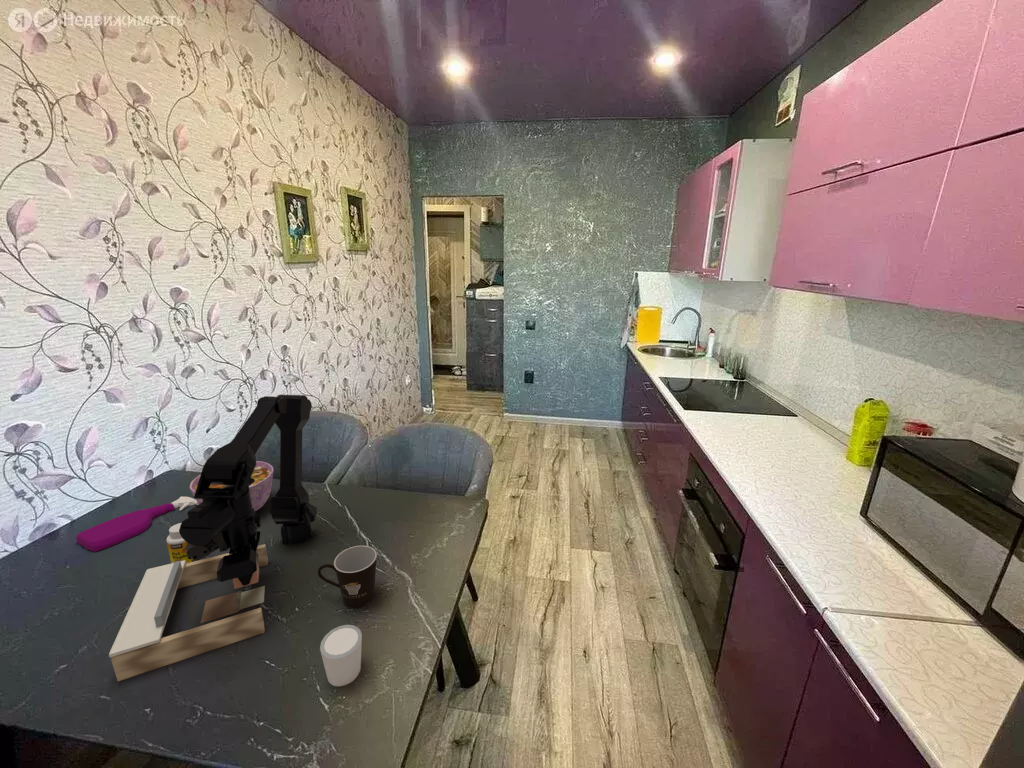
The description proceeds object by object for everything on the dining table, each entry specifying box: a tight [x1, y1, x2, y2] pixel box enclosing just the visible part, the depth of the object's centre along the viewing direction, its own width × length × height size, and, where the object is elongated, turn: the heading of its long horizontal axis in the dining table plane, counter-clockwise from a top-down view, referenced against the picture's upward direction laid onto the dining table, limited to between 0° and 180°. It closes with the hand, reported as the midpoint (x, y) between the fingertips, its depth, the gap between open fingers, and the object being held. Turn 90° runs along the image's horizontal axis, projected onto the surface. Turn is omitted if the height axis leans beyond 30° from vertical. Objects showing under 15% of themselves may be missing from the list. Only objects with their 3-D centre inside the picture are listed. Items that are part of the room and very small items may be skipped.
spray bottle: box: [75, 495, 199, 553], centre depth 112 cm, size 3×11×24 cm
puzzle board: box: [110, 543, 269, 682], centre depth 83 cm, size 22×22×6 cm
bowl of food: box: [188, 460, 274, 512], centre depth 117 cm, size 20×20×12 cm
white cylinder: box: [319, 624, 363, 687], centre depth 72 cm, size 7×7×7 cm
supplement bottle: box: [166, 522, 194, 564], centre depth 96 cm, size 6×6×10 cm
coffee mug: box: [317, 545, 378, 609], centre depth 89 cm, size 12×9×10 cm
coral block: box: [232, 565, 260, 590], centre depth 85 cm, size 4×4×4 cm
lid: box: [108, 560, 186, 658], centre depth 78 cm, size 6×22×3 cm, turn 29°
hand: (247, 577), depth 86 cm, fingers closed on coral block, 4 cm apart
